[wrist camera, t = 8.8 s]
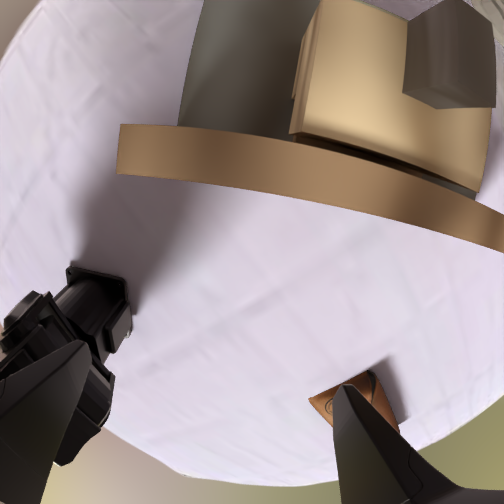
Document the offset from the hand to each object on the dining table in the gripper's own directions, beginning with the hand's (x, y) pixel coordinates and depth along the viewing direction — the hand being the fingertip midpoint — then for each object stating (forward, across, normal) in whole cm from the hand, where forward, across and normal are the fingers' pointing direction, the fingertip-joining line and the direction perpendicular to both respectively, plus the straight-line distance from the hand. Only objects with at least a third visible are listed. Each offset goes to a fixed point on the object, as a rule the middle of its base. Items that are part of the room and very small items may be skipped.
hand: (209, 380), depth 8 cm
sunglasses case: (+14, -19, +21) cm, 31 cm away
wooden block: (+12, -7, -12) cm, 18 cm away
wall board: (+13, -7, -12) cm, 19 cm away
